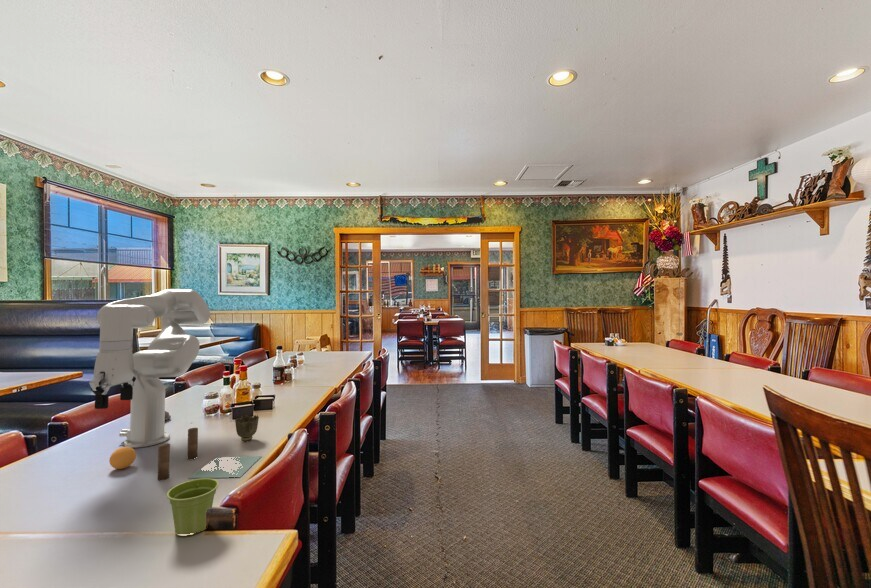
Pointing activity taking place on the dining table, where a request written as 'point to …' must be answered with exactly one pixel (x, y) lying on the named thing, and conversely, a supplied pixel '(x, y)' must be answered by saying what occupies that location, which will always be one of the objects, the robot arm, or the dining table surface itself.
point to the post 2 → (192, 443)
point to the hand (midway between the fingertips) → (114, 404)
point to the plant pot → (192, 504)
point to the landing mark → (244, 460)
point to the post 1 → (163, 461)
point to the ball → (122, 457)
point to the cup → (246, 427)
